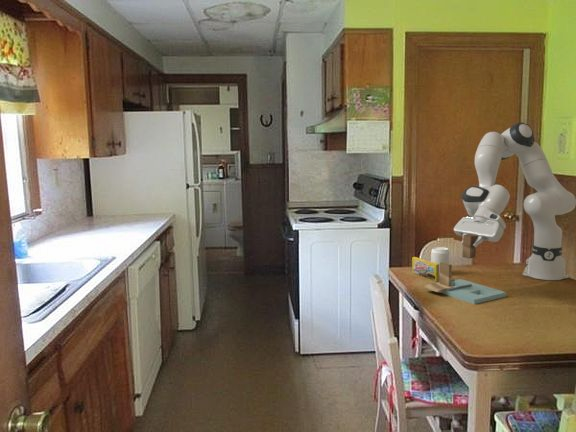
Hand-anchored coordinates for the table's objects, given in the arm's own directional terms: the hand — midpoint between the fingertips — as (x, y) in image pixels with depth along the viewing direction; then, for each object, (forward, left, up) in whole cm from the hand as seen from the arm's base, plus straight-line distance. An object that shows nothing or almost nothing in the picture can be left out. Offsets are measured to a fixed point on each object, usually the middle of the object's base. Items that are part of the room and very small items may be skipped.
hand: (468, 245), depth 205 cm
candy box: (-22, -18, -21) cm, 35 cm away
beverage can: (-31, -12, -21) cm, 39 cm away
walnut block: (0, 0, -5) cm, 5 cm away
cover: (+3, -11, -18) cm, 21 cm away
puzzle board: (0, 0, -20) cm, 20 cm away
